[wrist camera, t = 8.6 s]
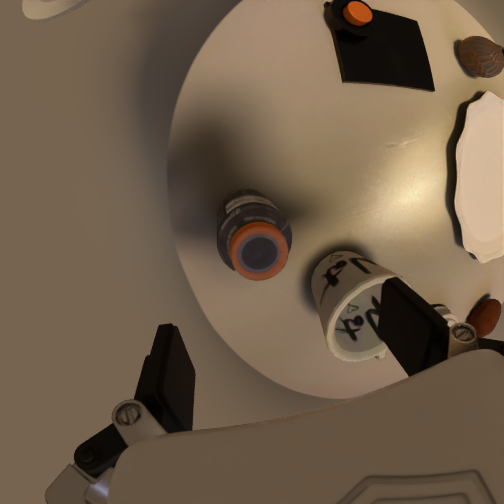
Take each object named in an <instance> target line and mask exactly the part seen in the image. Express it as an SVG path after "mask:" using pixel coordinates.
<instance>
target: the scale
mask: <svg viewBox="0 0 504 504" xmlns="http://www.w3.org/2000/svg"><path fill="white" fill-rule="evenodd" d="M352 1H357V2H361V3H363V4H364V5H366V6H367V7H368V8H369V9H370V11H371V13H372V20H371V21H369V22H368V23H367V24H365V25H363V26H355V25H353V24H351V23H349V22H348V21H347V20H346V19H345V17H344V15H343V9H344V8H345V7H346V6H347V5H348V4H349V3H350V2H352ZM324 8H325V11H326V14H327V18H328V21H329V25H330V28H331V32H332V36H333V40H334V44H335V48H336V52H337V57H338V61H339V66H340V70H341V75H342V80H343V83H364V84H377V85H388V86H397V87H404V88H412V89H418V90H424V91H430V92H433V91H435V88H434V83H433V78H432V73H431V68H430V64H429V60H428V56H427V52H426V48H425V45H424V41H423V38H422V35H421V31H420V28H419V25H418V22H417V21H415V20H412V19H409V18H405V17H402V16H399V15H395V14H391V13H387V12H383V11H379V10H374V9H371V8H370V7H369V5H368V4H366V3H365V2H363V1H361V0H332V2H325V4H324Z"/></svg>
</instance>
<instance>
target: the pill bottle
mask: <svg viewBox="0 0 504 504" xmlns="http://www.w3.org/2000/svg"><path fill="white" fill-rule="evenodd" d="M291 244H292V232H291V228H290V225H289V223H288V221H287V219H286V218H285V217H284V216H283V214H282V213H281V212H280V211H279V210H278V209H277V208H276V207H275V206H274V205H273V204H272V203H271V202H270V201H269V200H268V199H267V198H266V197H265V196H264V195H263V194H262V193H260V192H258V191H255V190H252V189H240V190H236V191H234V192H232V193H230V194H229V195H228V196H226V197H225V198H224V200H223V201H222V202H221V204H220V206H219V209H218V213H217V248H218V252H219V254H220V256H221V258H222V260H223V261H224V262H225V264H226V265H227V266H228V267H229V268H231V269H232V270H233V271H235V272H237V273H239V274H240V275H242V276H243V277H245V278H247V279H250V280H255V281H260V280H266V279H269V278H272V277H274V276H275V275H277V274H278V273H279V272H280V271H281V270H282V269H283V268H284V266H285V264H286V262H287V259H288V254H289V251H290V248H291Z"/></svg>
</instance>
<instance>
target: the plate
mask: <svg viewBox="0 0 504 504" xmlns="http://www.w3.org/2000/svg"><path fill="white" fill-rule="evenodd" d="M455 160H456V174H457V179H456V187H455V195H454V210H455V212H456V215H457V218H458V221H459V223H460V226H461V235H462V245H463V247H464V249H465V250H467V251H469V252H471V253H472V254H474V255H475V257H476V258H477V260H478V261H479V263H482V264H484V263H486V262H487V261H489V260H491V259H494V258H501V257H502V256H503V255H504V99H502V98H499V97H498V96H496V95H495V94H494V93H492V92H491V91H485V93H484V94H483V95H482V97H481V98H480V99H479V100H477V101H474V102H472V103H469V105H468V107H467V109H466V116H465V122H464V128H463V130H462V133H461V135H460V137H459V140H458V142H457V144H456V150H455Z"/></svg>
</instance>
